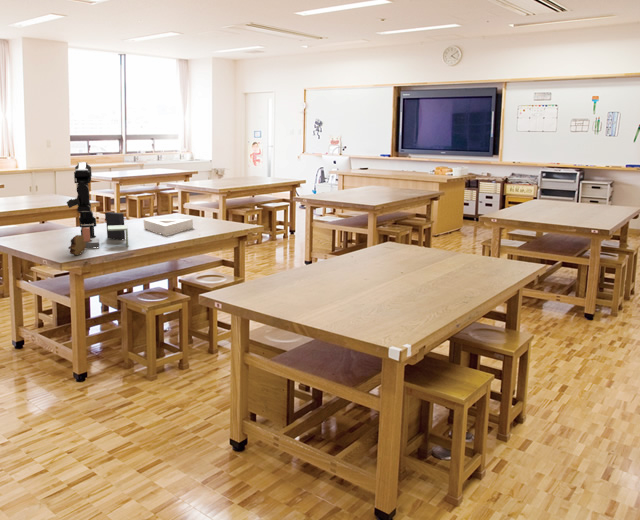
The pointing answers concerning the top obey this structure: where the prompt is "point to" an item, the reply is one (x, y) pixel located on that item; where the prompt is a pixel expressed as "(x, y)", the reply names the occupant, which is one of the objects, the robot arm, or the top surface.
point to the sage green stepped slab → (119, 227)
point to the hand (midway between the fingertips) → (85, 222)
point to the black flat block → (113, 220)
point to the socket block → (92, 243)
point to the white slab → (168, 225)
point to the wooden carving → (77, 245)
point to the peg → (86, 234)
